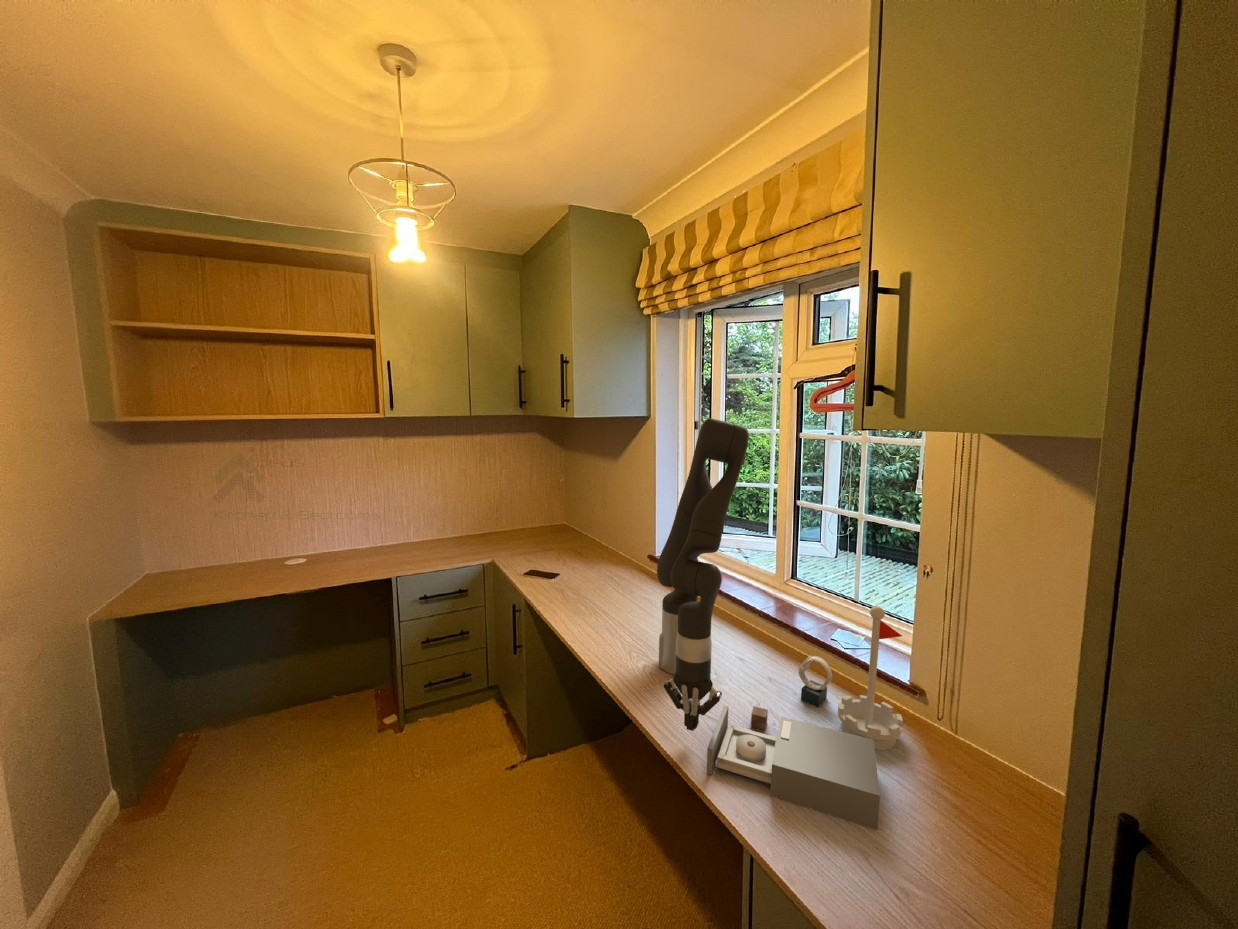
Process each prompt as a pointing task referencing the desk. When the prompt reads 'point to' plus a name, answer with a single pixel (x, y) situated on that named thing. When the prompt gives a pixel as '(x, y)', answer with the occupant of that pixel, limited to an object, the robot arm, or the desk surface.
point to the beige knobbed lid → (751, 748)
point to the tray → (726, 755)
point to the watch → (814, 690)
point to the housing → (826, 771)
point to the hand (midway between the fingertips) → (691, 728)
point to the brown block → (759, 718)
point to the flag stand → (872, 698)
